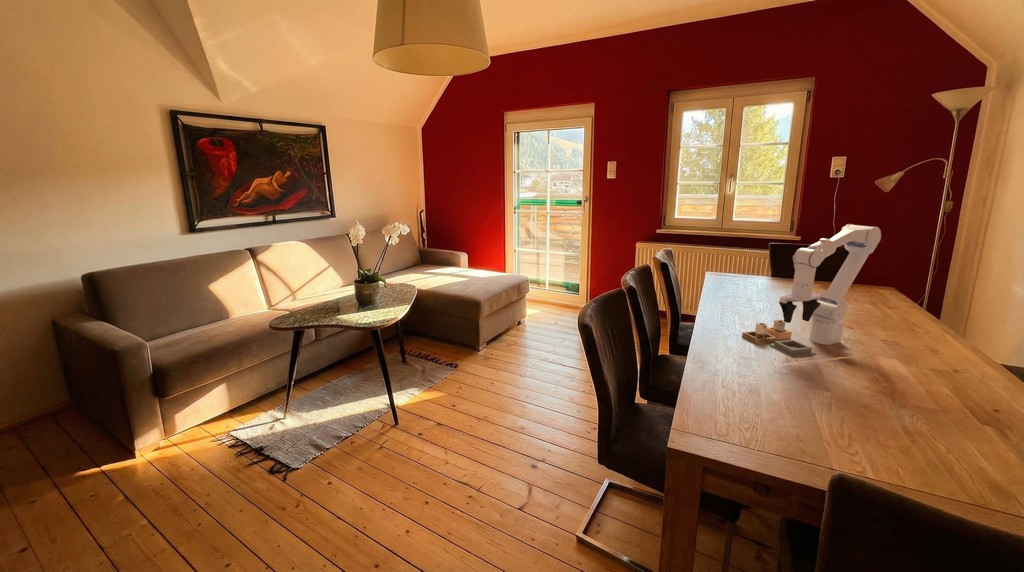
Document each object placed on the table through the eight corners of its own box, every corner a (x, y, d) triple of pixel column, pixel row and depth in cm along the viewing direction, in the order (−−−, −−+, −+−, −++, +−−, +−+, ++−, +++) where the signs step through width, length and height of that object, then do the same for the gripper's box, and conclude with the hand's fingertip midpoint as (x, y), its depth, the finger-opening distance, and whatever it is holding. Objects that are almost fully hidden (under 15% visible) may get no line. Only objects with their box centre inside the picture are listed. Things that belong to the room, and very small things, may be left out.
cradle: (792, 345, 155) (793, 338, 155) (815, 356, 146) (817, 348, 146) (769, 347, 154) (770, 340, 153) (791, 358, 144) (792, 351, 144)
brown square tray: (760, 336, 164) (760, 330, 163) (775, 343, 157) (776, 337, 156) (741, 338, 162) (742, 332, 162) (756, 345, 155) (757, 339, 155)
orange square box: (777, 334, 166) (779, 326, 165) (790, 340, 160) (791, 331, 159) (764, 335, 164) (765, 327, 164) (776, 341, 159) (777, 333, 158)
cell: (765, 339, 160) (767, 322, 158) (764, 342, 157) (767, 325, 155) (754, 337, 161) (756, 321, 160) (753, 340, 159) (755, 324, 157)
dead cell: (777, 334, 164) (780, 318, 163) (785, 337, 161) (788, 321, 159) (769, 335, 163) (772, 319, 162) (777, 338, 160) (779, 322, 158)
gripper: (810, 279, 153) (804, 316, 156) (775, 281, 150) (769, 319, 153) (828, 284, 146) (821, 322, 149) (792, 286, 143) (785, 325, 146)
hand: (796, 321), depth 151 cm, fingers open, 7 cm apart
